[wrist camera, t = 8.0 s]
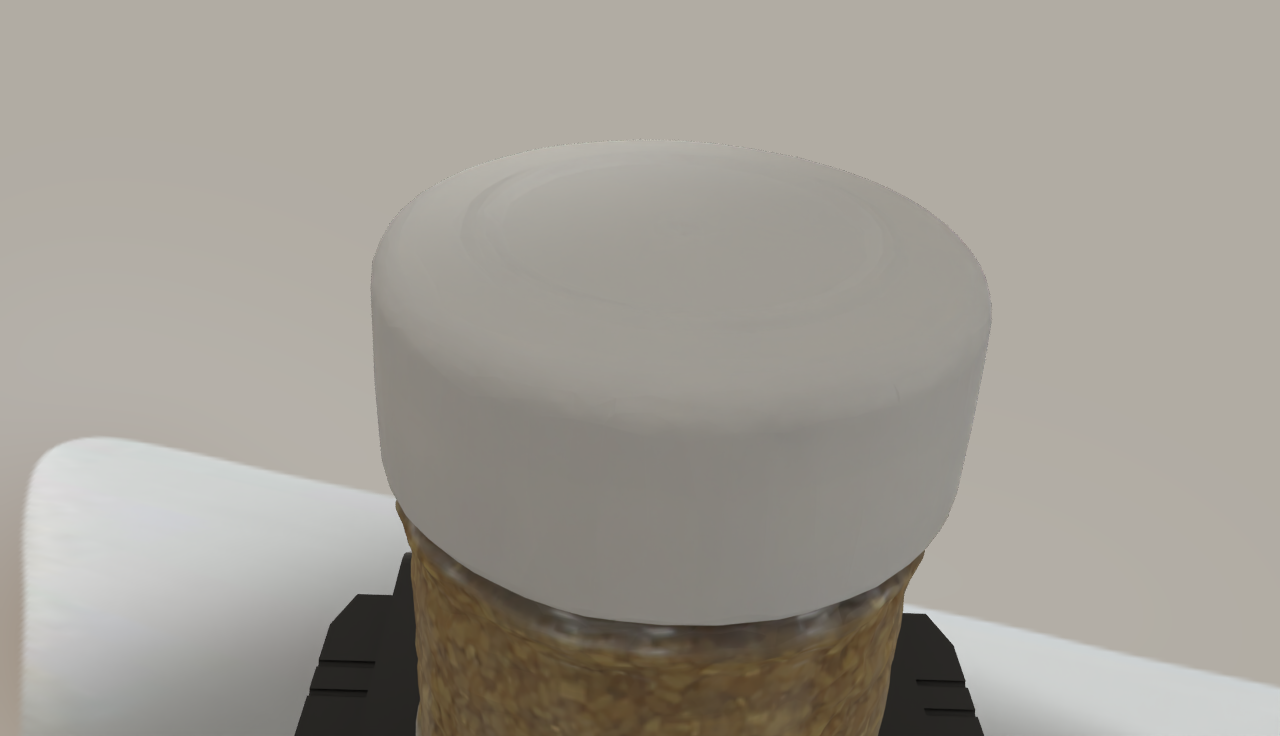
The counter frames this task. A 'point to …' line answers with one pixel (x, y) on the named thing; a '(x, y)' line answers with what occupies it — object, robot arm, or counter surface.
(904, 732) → the robot arm
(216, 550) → the counter surface
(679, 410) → the spice jar
